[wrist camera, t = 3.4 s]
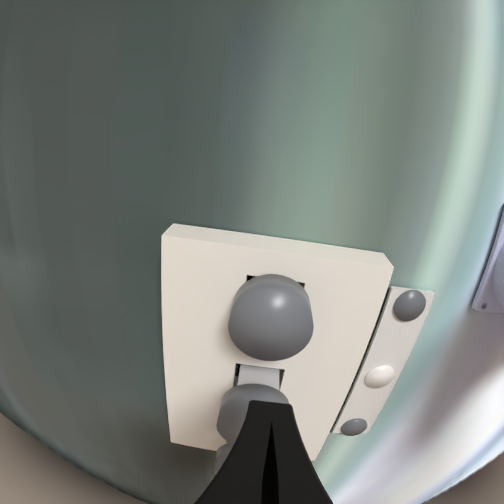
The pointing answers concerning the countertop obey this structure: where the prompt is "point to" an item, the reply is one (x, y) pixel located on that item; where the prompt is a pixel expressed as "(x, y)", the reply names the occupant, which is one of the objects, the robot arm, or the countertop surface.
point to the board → (228, 355)
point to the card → (384, 358)
